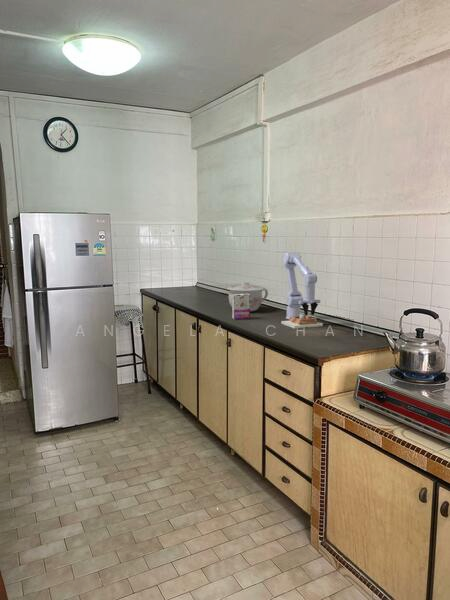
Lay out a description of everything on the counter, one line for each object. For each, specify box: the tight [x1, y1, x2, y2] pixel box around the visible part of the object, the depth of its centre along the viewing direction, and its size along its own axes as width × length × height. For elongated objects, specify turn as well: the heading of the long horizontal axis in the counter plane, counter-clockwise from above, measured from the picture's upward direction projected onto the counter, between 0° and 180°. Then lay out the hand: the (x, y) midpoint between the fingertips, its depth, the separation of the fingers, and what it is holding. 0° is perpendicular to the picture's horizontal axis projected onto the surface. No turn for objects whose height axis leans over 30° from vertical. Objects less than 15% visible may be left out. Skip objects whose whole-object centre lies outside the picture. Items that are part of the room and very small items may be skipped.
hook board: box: [280, 313, 324, 329], centre depth 283 cm, size 16×20×6 cm
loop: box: [289, 314, 318, 325], centre depth 283 cm, size 12×12×3 cm
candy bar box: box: [231, 294, 251, 321], centre depth 301 cm, size 11×5×16 cm, turn 105°
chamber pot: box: [226, 282, 269, 313], centre depth 332 cm, size 28×28×21 cm
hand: (309, 314), depth 285 cm, fingers open, 4 cm apart
